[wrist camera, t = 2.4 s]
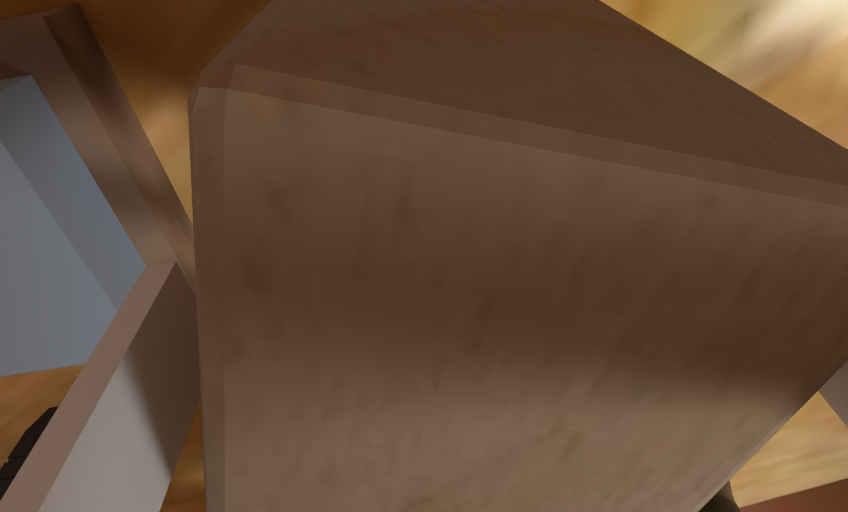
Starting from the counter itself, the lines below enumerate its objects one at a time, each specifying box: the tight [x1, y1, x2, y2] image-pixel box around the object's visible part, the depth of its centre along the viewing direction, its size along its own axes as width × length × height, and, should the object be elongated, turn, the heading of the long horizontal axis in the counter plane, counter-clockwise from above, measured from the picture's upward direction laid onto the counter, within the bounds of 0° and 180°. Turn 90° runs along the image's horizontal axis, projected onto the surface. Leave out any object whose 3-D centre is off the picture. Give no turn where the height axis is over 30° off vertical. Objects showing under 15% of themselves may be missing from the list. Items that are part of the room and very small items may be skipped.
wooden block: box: [188, 0, 848, 512], centre depth 17 cm, size 10×10×20 cm
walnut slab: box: [0, 3, 196, 295], centre depth 27 cm, size 16×16×4 cm
